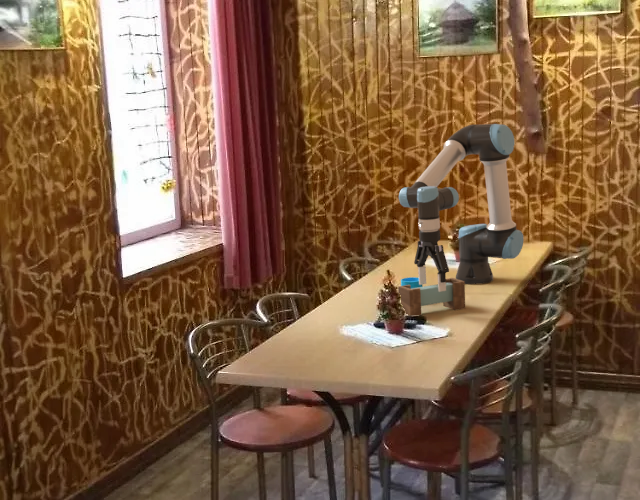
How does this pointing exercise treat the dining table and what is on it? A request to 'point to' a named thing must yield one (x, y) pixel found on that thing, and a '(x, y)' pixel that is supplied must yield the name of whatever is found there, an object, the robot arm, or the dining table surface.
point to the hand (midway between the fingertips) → (432, 287)
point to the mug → (411, 282)
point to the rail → (435, 294)
